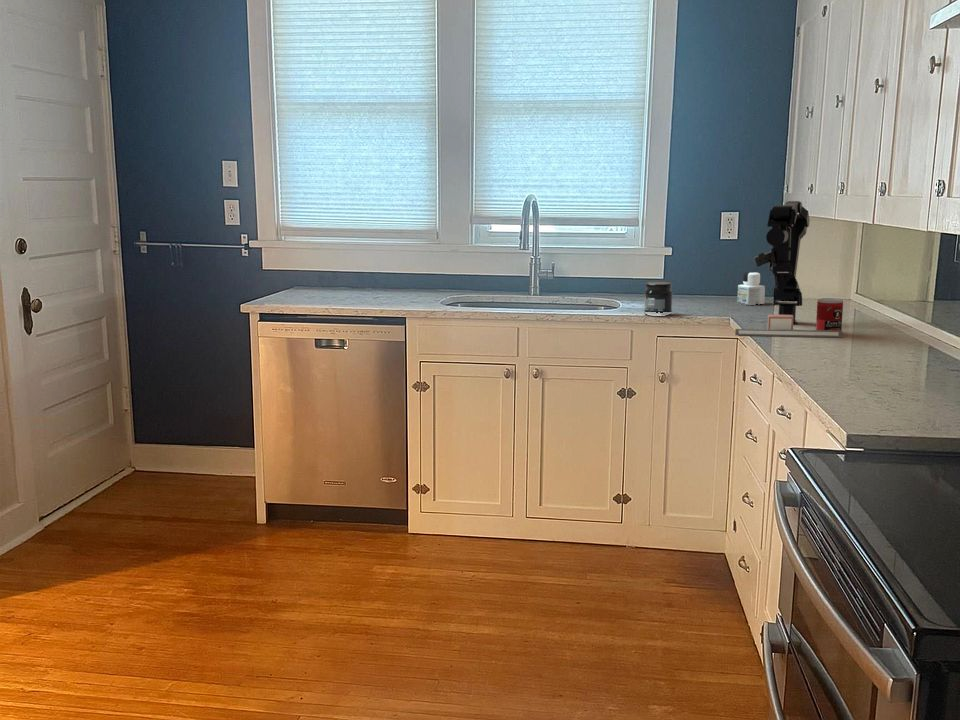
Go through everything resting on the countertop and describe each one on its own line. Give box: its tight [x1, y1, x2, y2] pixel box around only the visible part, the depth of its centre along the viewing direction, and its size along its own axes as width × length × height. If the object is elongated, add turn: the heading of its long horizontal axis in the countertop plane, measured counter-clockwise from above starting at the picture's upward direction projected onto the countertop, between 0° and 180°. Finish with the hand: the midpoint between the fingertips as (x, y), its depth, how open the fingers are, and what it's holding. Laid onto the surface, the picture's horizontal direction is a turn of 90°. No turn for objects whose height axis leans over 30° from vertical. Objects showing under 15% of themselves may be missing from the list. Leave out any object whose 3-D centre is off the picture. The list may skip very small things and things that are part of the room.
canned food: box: [815, 297, 844, 332], centre depth 284 cm, size 8×8×11 cm
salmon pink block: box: [766, 314, 794, 330], centre depth 286 cm, size 5×8×6 cm
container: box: [737, 271, 766, 305], centre depth 359 cm, size 8×8×13 cm
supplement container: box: [643, 281, 674, 313], centre depth 334 cm, size 10×10×12 cm
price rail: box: [734, 328, 843, 338], centre depth 282 cm, size 1×32×2 cm, turn 76°
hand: (779, 291), depth 294 cm, fingers open, 9 cm apart
